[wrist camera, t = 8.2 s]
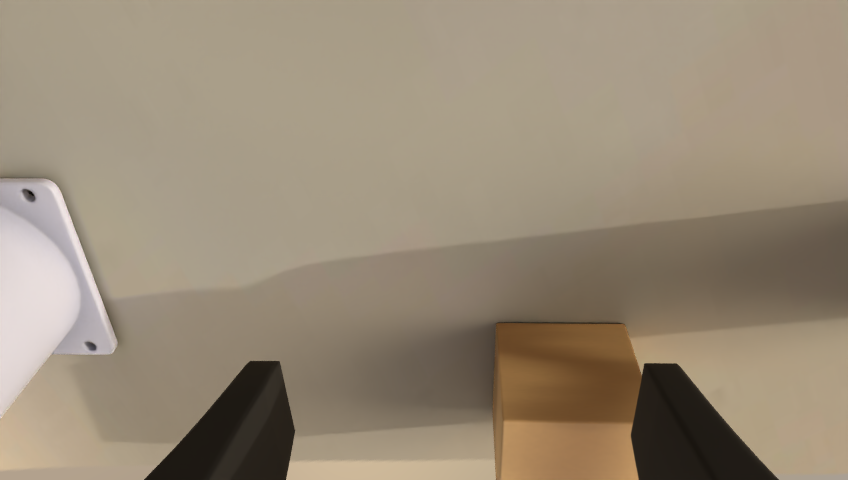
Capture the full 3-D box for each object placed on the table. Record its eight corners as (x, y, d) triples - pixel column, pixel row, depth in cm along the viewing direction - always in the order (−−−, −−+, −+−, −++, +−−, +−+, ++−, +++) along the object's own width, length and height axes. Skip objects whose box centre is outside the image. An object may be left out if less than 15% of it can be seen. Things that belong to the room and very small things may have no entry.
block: (492, 411, 28) (497, 514, 24) (495, 322, 25) (502, 420, 21) (609, 413, 28) (635, 518, 23) (625, 323, 25) (658, 423, 21)
